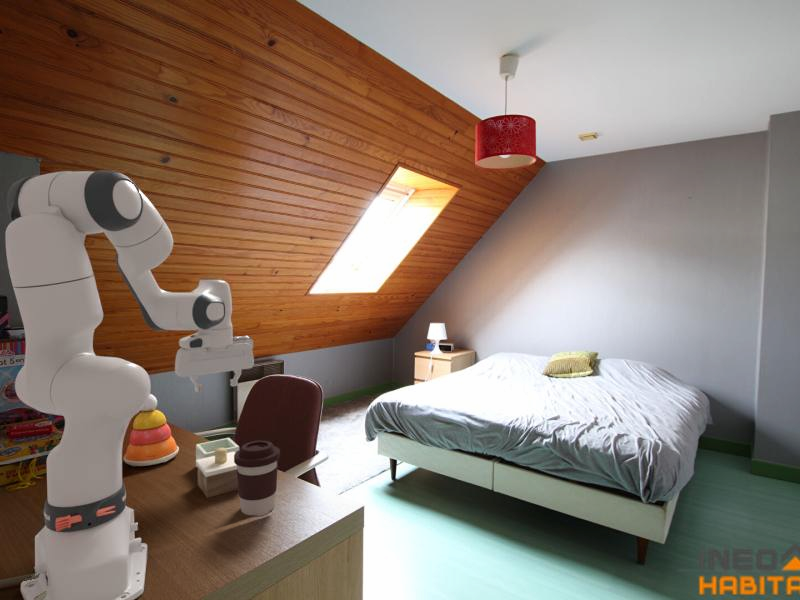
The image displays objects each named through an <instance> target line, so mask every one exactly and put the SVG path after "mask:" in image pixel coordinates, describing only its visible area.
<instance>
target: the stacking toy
mask: <svg viewBox="0 0 800 600" xmlns="http://www.w3.org/2000/svg"><path fill="white" fill-rule="evenodd" d="M157 407H158V400H157V397H156V396H155V395H153V394H152V393H150V395H149V398H148V400H147V402H146V404H145V405H144V407H143V408H142V409H141V410H140V411H141V412H140V413H138V415H136V417H135V418H134V421H133V424H132V428H133V429H132V430H131V432H130V435H129V444H128V446H127V448H126V453H125V454H124V456H123V461H124V463H125V464H127V465H129V466H131V467H145V466H146V467H147V466H152V465H154V466H155V465H158V464H161V463H162V464H163V463H166V462H168V461H170V460H171V459H173V458H174V457H176V456H177V455H178V453H179V450H180V447H179V446H178V445H177V443H176V440H175V439H174V437H173V436H172V430H171V428H170V426H169V424H168V423H167V418H166V416H165V414H164V413H163V412H162V411H160V410H158V409H156V408H157Z"/></svg>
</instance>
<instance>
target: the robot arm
mask: <svg viewBox="0 0 800 600" xmlns="http://www.w3.org/2000/svg"><path fill="white" fill-rule="evenodd" d="M6 210H7V213H8V216H9V219H10V223H9V224H8V226H7V227H6V230H5V251H6V252H5V253H6V260H7V267H8V272H9V277H10V279H11V280H10V281H11V284H12V288H13V291H14V295H15V299H16V302H17V305H18V309H19V313H20V317H21V321H22V324H23V329H24V335H25V336H24V337H25V353H24V354H25V355H24V364H23V366H22V367H21V369H20V370H19V371H18V374H17V376H16V377H15V378H16V379H15V382H14V390H15V393H16V396H17V397H18V399H19V400H20V401H21V402H23V404H25V405H27V406H29V407H30V408H33V409H35V410H37V411H38V412H41V413H44V414H48V415H55V416H63V418H64V429H63V432H62V437H61V440H60V442H59V443H58V444H57V445H56V446H55V447H53V448H52V449H51V450H50V452H49V453H48V455H47V458H46V485H47V486H46V489H47V490H46V491H47V493H46V494H47V495H46V496H47V498H46V499H45V500H44V501H45V502H44V508H43V516H44V526H43V527H42V529H41V530H40V531H38V533H37V534H36V535H35V537H34V565H35V566H34V567H33V569H32V572H33V575H34V574H35V576H36V575H38V574H40V575H39V577H38V578H36V579H32V580H27V581H24V580H23V581H22V582H21V583H20V593H21V595H22V598H23V600H34V598H35V597H36V596H38V595H40V594H41V593H43V592H44V591H47V595H46V597H45V598H44V599H43V600H135V599H137V598H138V597H140V596H141V595H143V593H144V589H145V580H146V571H147V570H146V569H147V561H148V552H149V551H148V550H149V549H148V544H147V543H144V542H142V537H136V536H135V531H138V530H139V526H138V525H139V522H135V509H133V508H131V507H129V506H127V502H126V501H127V500H126V497H127V490H126V485H125V482H123V444H124V440H125V439H124V438H125V437H126V436H125V435H126V432H127V429H128V428H129V424H130V422H131V421H132V419H133V418H134V416H135V415H136V416H137V414H139V412H140V411H142V410H141V409H142V408H143V407H144V405H145V404H146V402H147V400H148V398H149V395H150V394H151V388H152V387H151V386H152V384H151V383H152V382H151V379H150V375H149V374H148V372H147V371H146V370H145V369H144V367H142V366H140V365H139V364H136V363H134V362H132V361H129V360H125V359H123V358H120V357H114V356H103V355H102V356H100V355H96V353H95V352H94V351H95V350H94V347H93V346H94V345H93V343H94V334H95V329H97V327H98V326H100V324H101V323H102V321H103V319H104V311H103V307H102V303H101V298H100V294H99V291H98V287H97V283H96V278H95V274H94V270H93V267H92V264H91V260H90V257H89V254H88V252H87V249H86V247H85V240H86V237H87V235H93V234H102V233H104V234H105V236H106V238H107V239H108V240H109V242H110V243H111V244H112V246H113V247H114V249H115V250H116V254H115V264H116V267H117V269H118V272H119V273H120V275H121V278H122V279H123V280H124V282H125V284H126V286H127V287H128V289H129V291H130V293H131V294H132V296H133V297H134V300H135V301H136V303H137V304H138V306H139V308H140V313H141V314H142V315H141V316H142V319H143V320H144V322H145V324H146V325H147V326H148V327H149V328H150V329H151V330H153V331H155V332H169V331H197V332H195V333H193V334H190V335H188V336H184V337H182V338H180V339H179V340H178V345H179V346H180V348H179V349H177V352H176V354H175V362H174V373H175V375H177V376H178V377H180V378H188V377H189V379H190V381H191V382H192V384H193V385H194V392H195V393H200V392H203V384H202V383H198V381H197V380H198V377H199V376H202V375H203V376H204V375H209V374H216V373H217V374H219V373H226V372H231V371H232V372H233V373H234V376H233V378H230V379H229V380H230V381H229V382H230V384H229V385H230V387H236V386H239V384H238V383H239V381H238V380H239V379H240V377H241V375H242V370H247V369H249V370H250V369H252V368H253V367H254V365H255V357H254V352H253V349H254V340H253V339H252V337H249V336H248V335H242V336H233V335H234V334H233V333H234V332H233V330H234V329H233V323H232V313H233V301H232V300H233V299H232V292H231V287H230V284H229V283H228V282H227V281H225V280H223V279H215V278H203V279H200V280H199V282H198V286H197V287H196V288H195V289H193V290H191V292H172V291H168V290H167V291H166V290H164V289H162V288H161V287H160V286H159V285H158V282H157V281H156V279H155V276H154V275H153V273H152V271H151V270H154V269H155V268H157V267H159V266H160V265H161V264H163V262H165V261H166V260H167V259H168V258H169V256H170V255H171V253H172V250H173V247H174V238H173V234H172V232H171V230H170V228H169V227H168V225H167V223H166V221H165V220H164V218H163V217H162V216H161V214H160V213H159V211H158V210H157V209H156V207H155V205H154V204H153V203H152V202H151V201H150V199H149V198H148V197H147V196H146V195H145V194H144V192H142V191H141V189H140V188H139V187H138V185H137V184H136V183H134V181H132V179H130V177H128V176H127V175H125V174H123V173H121V172H118V171H112V170H105V169H104V170H103V169H99V170H96V171H89V170H88V171H87V170H85V171H72V170H64V171H63V170H62V171H55V172H49V173H46V174H34V175H33V174H32V175H29V176H26V177H22V178H21V179H19V180H17V181H15V182H14V183H13V184H11V185H10V187H9V189H8V191H7V196H6ZM135 537H136V538H135Z"/></svg>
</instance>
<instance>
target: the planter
mask: <svg viewBox="0 0 800 600" xmlns="http://www.w3.org/2000/svg"><path fill="white" fill-rule="evenodd" d="M218 448H227V453H229V452H235V453H236V452H237V451H239V450H240V446H239V445H238V444H237V443H236V442H235V441H234V440H233V439H231V438H230V437H226V438H220V439H215V440H211V441H206V442H202V443H197V444H196V443H195V461H196V460H198V459H203V458H207V457H212V456H215V449H218ZM195 467H196V468H197V465H196V464H195Z"/></svg>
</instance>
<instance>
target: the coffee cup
mask: <svg viewBox="0 0 800 600" xmlns="http://www.w3.org/2000/svg"><path fill="white" fill-rule="evenodd" d="M280 457H281V450H280V448H279V447H277V446H275V445H274V444H273V442H271V441H268V440H254V441H250V442H246V443H244V444H243V445H241V448H239V451H237V452H236V453H235V455H234V463H235V464H236V465H237V468H238V469H237V481H238V490H237V491H238V492H237V493H238V496H239V500H240V501H239V502H240V512H242V513H243V514H244V515H248V516H252V518H260V517H264V516H266V515H268V514H270V513H271V512H273V510H272V509H274V507H275V503H276V491H277V486H278V485H277V484H278V483H277V482H278V468H279V467H278V466H279V465H278V460H280Z"/></svg>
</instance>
